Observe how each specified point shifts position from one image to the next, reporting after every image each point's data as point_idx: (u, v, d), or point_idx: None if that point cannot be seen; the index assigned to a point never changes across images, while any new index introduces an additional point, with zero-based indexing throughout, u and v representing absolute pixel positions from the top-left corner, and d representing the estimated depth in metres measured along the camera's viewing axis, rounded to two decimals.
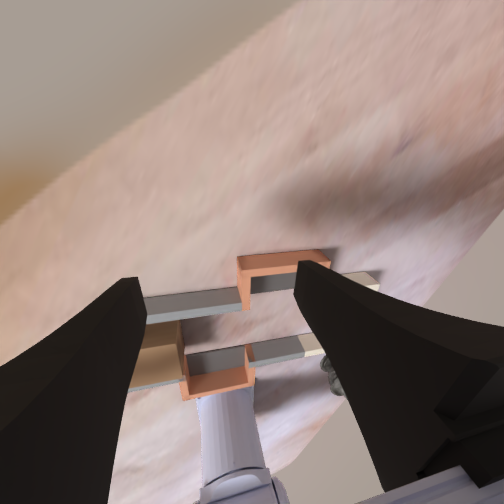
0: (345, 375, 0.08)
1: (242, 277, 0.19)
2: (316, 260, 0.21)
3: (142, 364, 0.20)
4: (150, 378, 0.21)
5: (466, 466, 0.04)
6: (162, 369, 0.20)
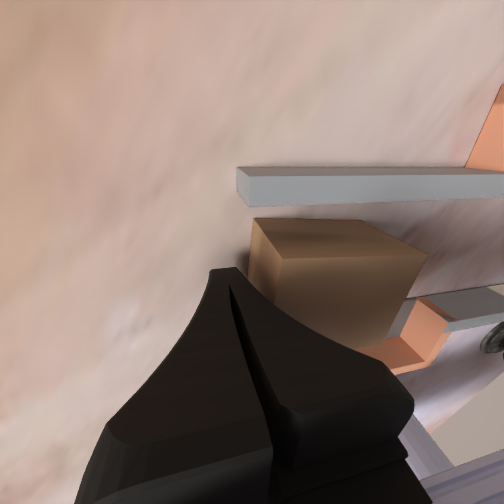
0: None
1: None
2: None
3: (343, 300, 0.08)
4: (335, 339, 0.10)
5: None
6: (366, 318, 0.09)
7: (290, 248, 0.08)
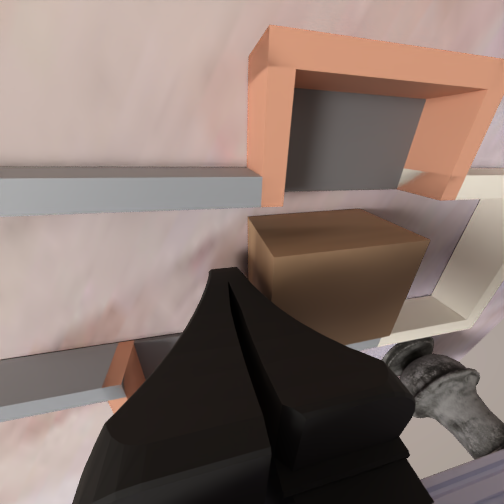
0: None
1: (269, 66, 0.06)
2: None
3: (343, 293, 0.08)
4: (339, 334, 0.09)
5: None
6: (370, 310, 0.09)
7: (283, 245, 0.08)
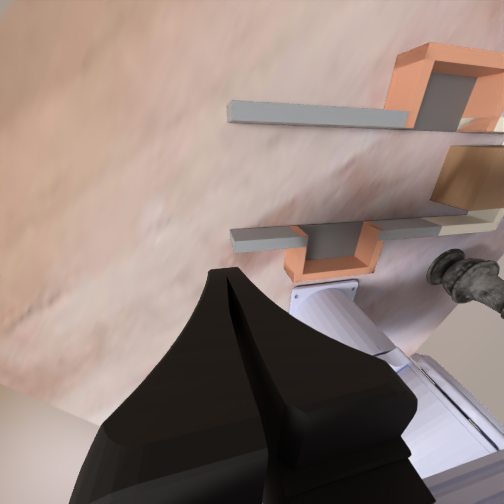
0: None
1: (424, 59, 0.14)
2: None
3: None
4: (502, 199, 0.19)
5: None
6: None
7: (495, 147, 0.17)
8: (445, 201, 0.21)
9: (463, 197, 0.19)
